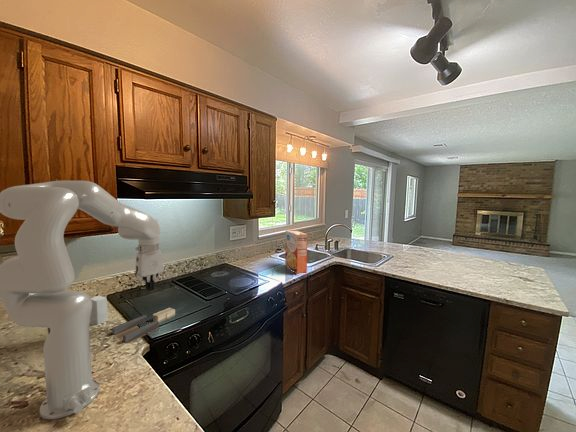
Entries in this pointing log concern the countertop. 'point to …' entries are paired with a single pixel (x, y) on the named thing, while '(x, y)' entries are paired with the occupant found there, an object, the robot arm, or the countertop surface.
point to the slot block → (134, 329)
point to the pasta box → (296, 251)
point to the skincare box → (98, 310)
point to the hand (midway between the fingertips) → (150, 289)
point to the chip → (160, 316)
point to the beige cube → (169, 312)
